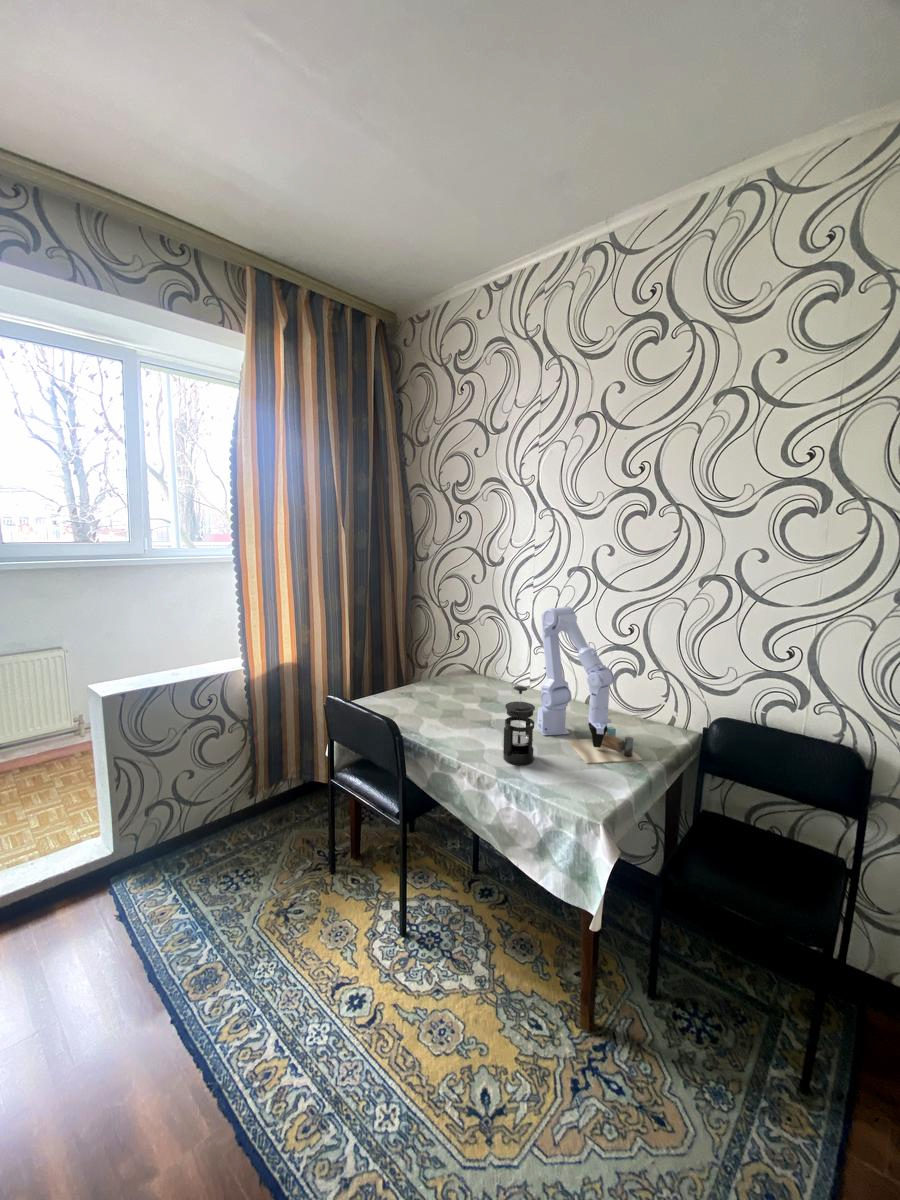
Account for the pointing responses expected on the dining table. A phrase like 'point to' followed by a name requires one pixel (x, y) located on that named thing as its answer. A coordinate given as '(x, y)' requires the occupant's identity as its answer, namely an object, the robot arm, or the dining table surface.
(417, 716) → the dining table surface
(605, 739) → the tan wooden bar
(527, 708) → the french press
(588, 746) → the board
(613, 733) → the post
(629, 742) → the hinge post
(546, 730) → the robot arm
